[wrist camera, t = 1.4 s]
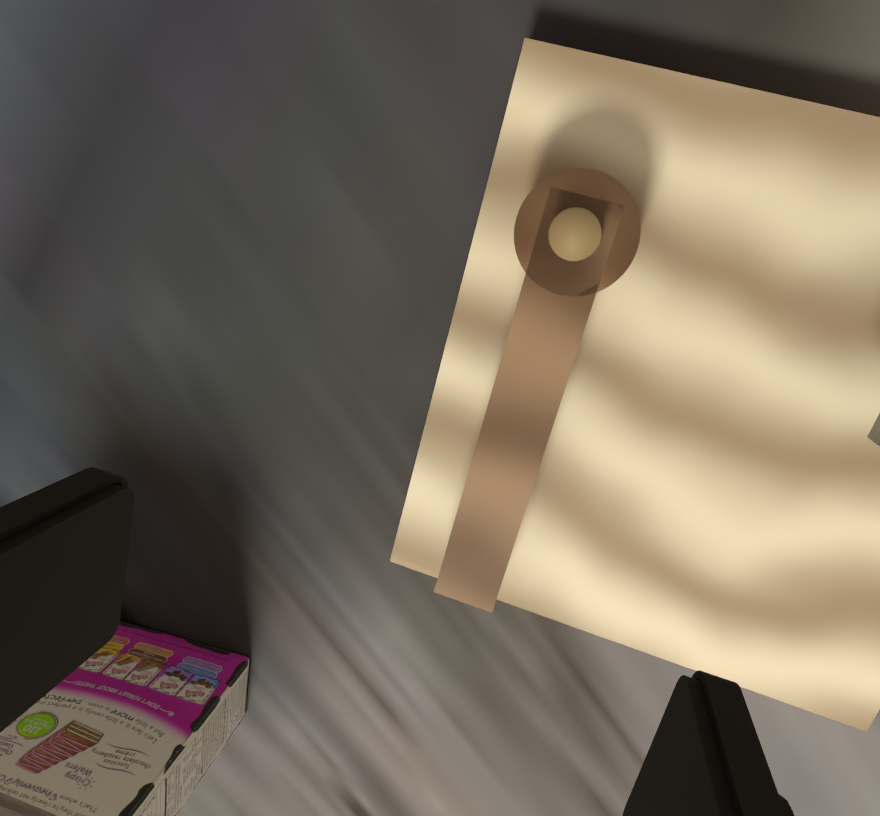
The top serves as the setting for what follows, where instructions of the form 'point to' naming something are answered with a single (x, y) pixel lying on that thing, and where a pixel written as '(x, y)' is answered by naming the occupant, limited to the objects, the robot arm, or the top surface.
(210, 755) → the candy bar box
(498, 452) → the walnut link
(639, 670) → the top surface
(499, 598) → the birch board
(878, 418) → the block
